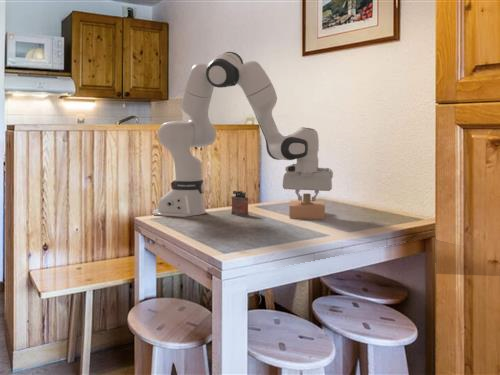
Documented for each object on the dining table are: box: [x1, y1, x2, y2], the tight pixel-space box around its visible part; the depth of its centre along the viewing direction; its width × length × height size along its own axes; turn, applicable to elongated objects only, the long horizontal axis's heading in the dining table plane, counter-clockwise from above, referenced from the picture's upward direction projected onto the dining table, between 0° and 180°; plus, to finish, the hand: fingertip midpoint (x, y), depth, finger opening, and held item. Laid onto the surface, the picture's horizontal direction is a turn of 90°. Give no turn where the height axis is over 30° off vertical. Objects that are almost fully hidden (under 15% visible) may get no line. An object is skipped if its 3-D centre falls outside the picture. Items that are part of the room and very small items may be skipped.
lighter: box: [230, 190, 249, 217], centre depth 187 cm, size 8×3×10 cm, turn 58°
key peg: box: [302, 193, 312, 204], centre depth 184 cm, size 3×3×9 cm
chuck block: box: [288, 200, 326, 220], centre depth 185 cm, size 14×14×5 cm
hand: (306, 200), depth 184 cm, fingers open, 4 cm apart
